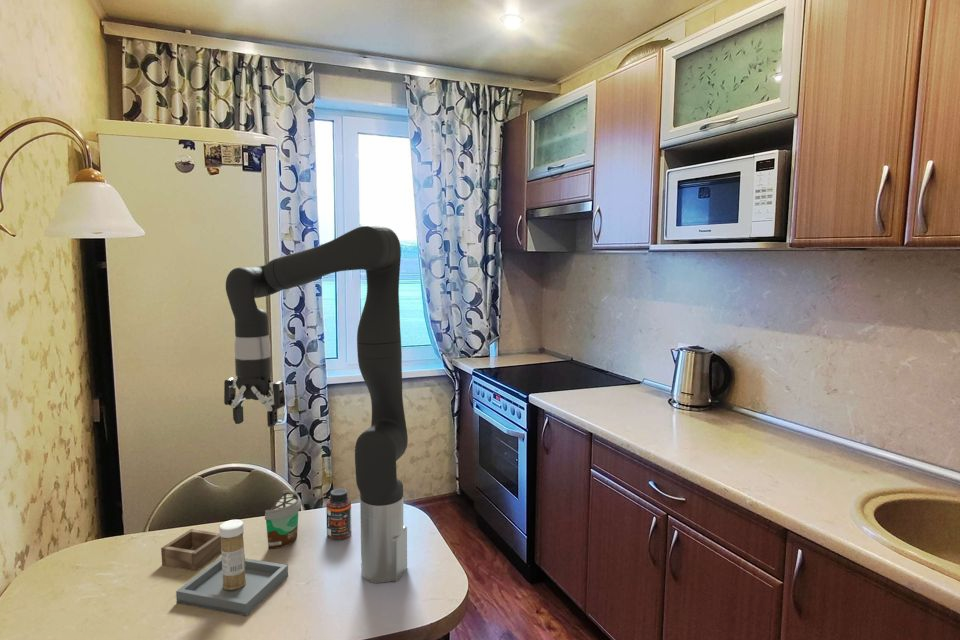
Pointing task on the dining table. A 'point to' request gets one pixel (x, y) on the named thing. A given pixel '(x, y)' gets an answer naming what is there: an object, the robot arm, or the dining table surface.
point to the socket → (185, 558)
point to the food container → (283, 520)
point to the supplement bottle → (338, 515)
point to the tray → (242, 601)
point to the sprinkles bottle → (232, 554)
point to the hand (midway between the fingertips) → (255, 424)
